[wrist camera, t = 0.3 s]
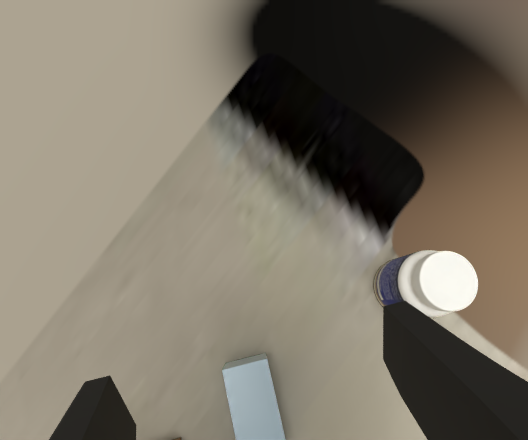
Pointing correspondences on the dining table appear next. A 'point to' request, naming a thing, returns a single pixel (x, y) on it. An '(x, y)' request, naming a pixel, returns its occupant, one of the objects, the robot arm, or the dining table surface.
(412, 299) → the pill bottle
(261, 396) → the blue-grey rectangular block
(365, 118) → the dining table surface
